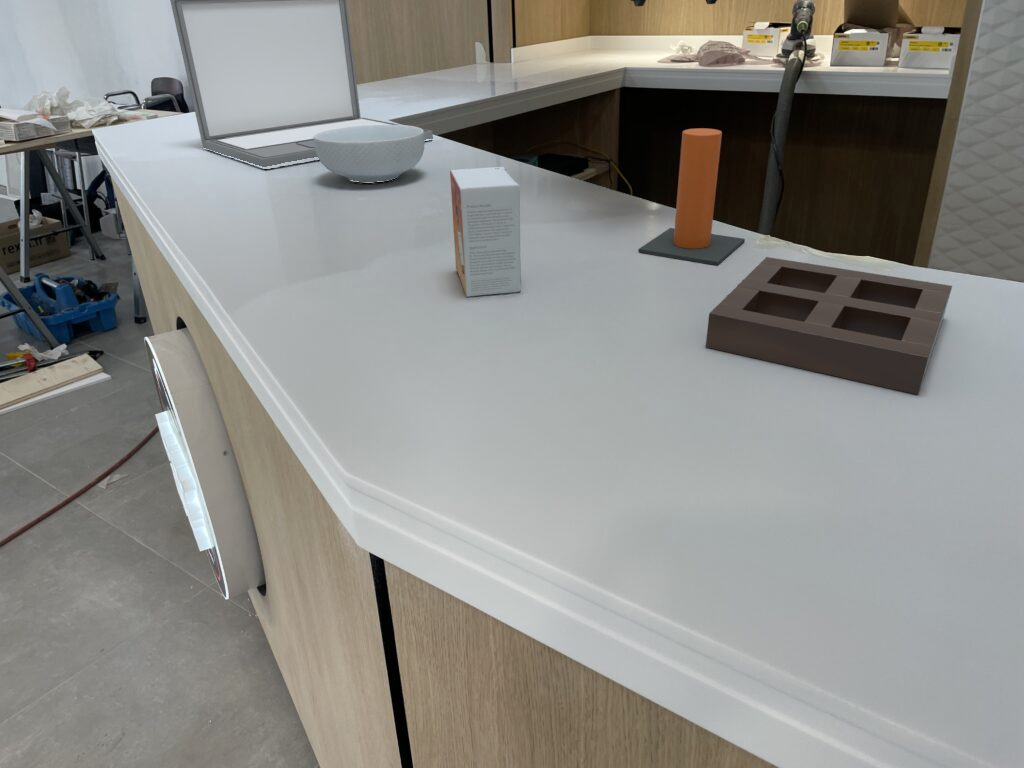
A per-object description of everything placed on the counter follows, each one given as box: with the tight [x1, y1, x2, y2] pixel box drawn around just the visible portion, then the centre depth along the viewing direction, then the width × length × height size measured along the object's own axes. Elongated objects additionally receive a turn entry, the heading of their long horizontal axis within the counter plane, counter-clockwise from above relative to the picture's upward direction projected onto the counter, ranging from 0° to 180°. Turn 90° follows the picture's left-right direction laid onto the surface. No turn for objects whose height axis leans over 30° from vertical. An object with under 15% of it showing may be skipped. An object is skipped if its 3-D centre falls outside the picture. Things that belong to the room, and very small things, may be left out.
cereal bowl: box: [314, 124, 426, 182], centre depth 114 cm, size 17×17×7 cm
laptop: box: [170, 0, 434, 167], centre depth 136 cm, size 35×28×26 cm
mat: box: [638, 227, 746, 266], centre depth 82 cm, size 9×9×1 cm
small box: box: [449, 166, 522, 298], centre depth 71 cm, size 8×6×10 cm
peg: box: [674, 127, 723, 249], centre depth 79 cm, size 4×4×12 cm
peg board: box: [705, 256, 953, 396], centre depth 61 cm, size 16×16×3 cm
